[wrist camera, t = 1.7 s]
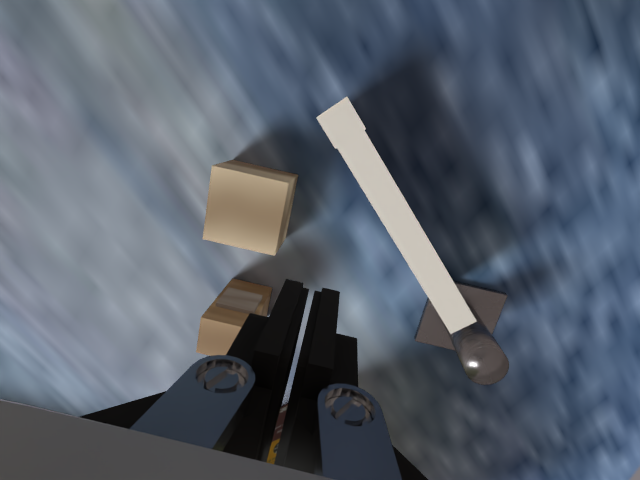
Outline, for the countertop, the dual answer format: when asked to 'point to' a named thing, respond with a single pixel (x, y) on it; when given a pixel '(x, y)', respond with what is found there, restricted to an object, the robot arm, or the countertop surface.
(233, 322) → the stile
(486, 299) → the knob on square plate
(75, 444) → the robot arm
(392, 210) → the white long bar
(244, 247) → the tan cube
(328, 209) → the countertop surface
